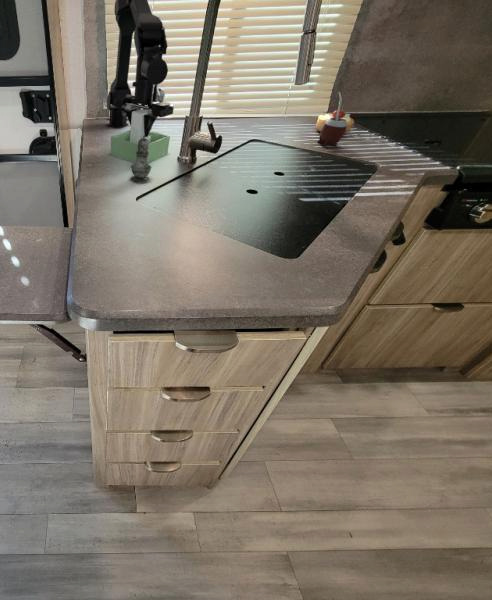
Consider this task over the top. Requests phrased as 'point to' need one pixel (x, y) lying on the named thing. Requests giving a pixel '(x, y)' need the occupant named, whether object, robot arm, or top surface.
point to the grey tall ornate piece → (141, 163)
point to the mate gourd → (333, 129)
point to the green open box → (128, 149)
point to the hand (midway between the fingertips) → (140, 135)
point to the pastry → (325, 117)
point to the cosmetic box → (138, 126)
